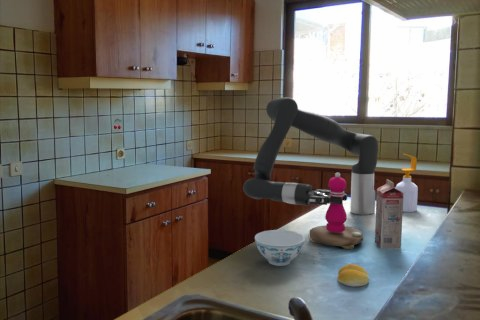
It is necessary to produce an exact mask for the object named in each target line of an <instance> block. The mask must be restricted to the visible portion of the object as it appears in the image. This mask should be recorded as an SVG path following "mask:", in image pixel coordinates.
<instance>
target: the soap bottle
mask: <svg viewBox="0 0 480 320" xmlns="http://www.w3.org/2000/svg"><path fill="white" fill-rule="evenodd" d="M403 156H408V157H409V158H410V159H411V161H410V168H401V169H400V171H403V173H405V175H403V176H402V180H401V181H400V182H398V183H397V184H396V186H395V188H396V189H398V190H399V191H401V192H402V193H404V195H403V213H404V212H405V213H413V212H416V211H417V209H418V194H419V193H418V191H419V190H418V189H419V188H418V185H416V184H415V183H414V182H412V175H410V174H411V173H412V172H415V171H416V170H417V163H418V162H417V161H418V159H417V157H416V156H413V155H410V154H407V153H403Z"/></svg>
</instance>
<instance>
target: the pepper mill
mask: <svg viewBox="0 0 480 320" xmlns="http://www.w3.org/2000/svg"><path fill="white" fill-rule="evenodd" d="M327 186H328V188H329V190H330V191H329V192H330V194H329V195H330V196H331V197H332V196H333V197H341V198H343V196H344V194H346V193H345V190H346V188H347V182H346V180H345V178H343V177H341V173H340V172H336V173H334V176H333V177H331V178H330V179H329V181H328V184H327ZM347 217H348V215H347V212H346V210H345V207H344V204H343V203H342V204H333V203H331V204H329V206H328V208H327V209H326V212H325V216H324V218H325V220H326V222H327V223H326V224H325V225H326V229H327V230H328V231H330V232H343V231H345V226H346V225H345V223H346V222H347Z"/></svg>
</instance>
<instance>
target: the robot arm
mask: <svg viewBox="0 0 480 320" xmlns="http://www.w3.org/2000/svg"><path fill="white" fill-rule="evenodd" d="M265 111H266V114H267V116H268V117H269V118H270V119H271V121H274V124H273V126H272V128H271V130H270V132H269V134H268V136H267V137H266V139H265V140H264V142H263V143H262V145H261V146H260V148H259V151H258V152H257V155H256V158H255V160H254V164H253V171H254V173H255V174H254V178H253V177H252V178H248V179H247V180H246V181H245V182H244V183H243V185H242V191H243V193H244V194H245V195H246V196H247V197H249V198H251V199H254V200H262V199H267V200H270V201H274V202H279V203H280V202H281V203H287V204H290V205H300V206H306V207H308V206H310V205H323V206H327V205H330V204H331V203H333V204H342V203H343V202H345V201H347V200H348V194H347V193H344V196H343V198H341V197H333V196H332V197H331V196H330V195H329V194H330V192H329V191H330V189H327V188H326V189H325V188H321V189H316V190H314V189H313V186H312V185H311V184H307V183H298V182H283V181H271V176H272V172H273V168H274V165H275V164H276V163H275V162H276V160H277V157H278V155H279V151H280V149H281V147H282V145H283V143H284V141H285V138H286V136H287V134H288V133H289V130H290V129H291V127H293V128H295V129H297V130H299V131H301V132H303V133H305V134H307V135H309V136H312V137H314V138H315V139H318V140H320V141H323V142H326V143H329V144H332V145H335V146H338V147H340V148H342V149H344V150H346V151H347V152H349V153H351V154H353V155H355V156H358V161H357V163H355V164H353V165H352V166H351V179H350V180H351V181H350V183H351V184H350V213H352V214H354V215H363V216H364V215H365V216H366V215H367V216H368V215H372V214H374V213H376V190H375V187H374V186H375V169H376V167H377V164H378V154H379V142H378V139H377V138H376V137H375V136H374V135H371V134H364V133H358V132H357V133H356V132H353V131H350V130H347V129H345V128H344V127H343V126H341V124H339V122H337V121H336V120H334V119H332V118H330V117H328V116H325V115H324V114H323V115H322V114H319V113H315V112H311V111H307V110H302V109H299V106H298V103H297V102H296V100H295V99H293V98H292V97H287V96H285V97H276V98H273V99H271V100H270V101H269V102H268V103H267V105H266V110H265Z"/></svg>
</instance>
